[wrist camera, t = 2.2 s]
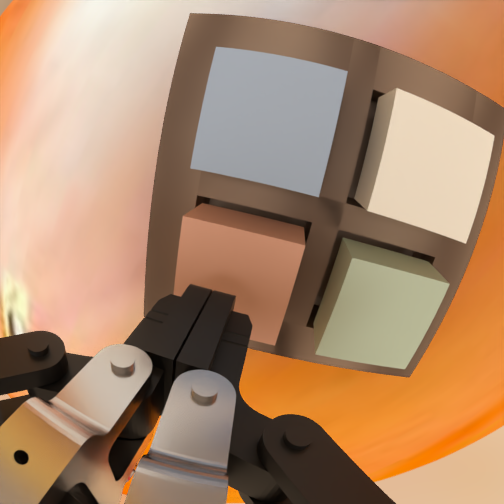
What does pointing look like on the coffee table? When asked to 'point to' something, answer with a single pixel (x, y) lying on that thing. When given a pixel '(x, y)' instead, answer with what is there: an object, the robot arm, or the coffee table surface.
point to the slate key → (268, 119)
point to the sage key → (376, 305)
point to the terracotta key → (241, 262)
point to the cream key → (424, 165)
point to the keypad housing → (335, 178)
